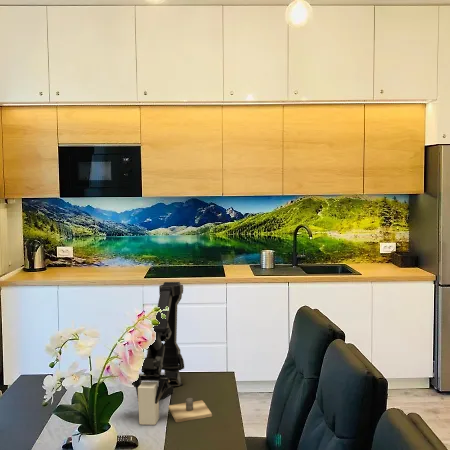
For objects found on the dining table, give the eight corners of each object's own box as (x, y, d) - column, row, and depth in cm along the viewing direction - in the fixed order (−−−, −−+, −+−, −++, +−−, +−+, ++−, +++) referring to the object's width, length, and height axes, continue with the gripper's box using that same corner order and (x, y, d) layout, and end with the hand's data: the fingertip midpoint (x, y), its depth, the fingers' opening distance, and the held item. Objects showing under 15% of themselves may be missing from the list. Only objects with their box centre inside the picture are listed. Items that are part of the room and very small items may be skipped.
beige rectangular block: (144, 417, 179) (142, 381, 178) (159, 417, 178) (157, 382, 178) (139, 424, 174) (137, 387, 173) (155, 424, 173) (153, 388, 172)
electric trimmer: (176, 394, 199) (176, 386, 199) (146, 408, 187) (145, 399, 187) (168, 392, 202) (168, 384, 202) (138, 406, 189) (138, 397, 189)
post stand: (168, 408, 186) (168, 395, 186) (202, 402, 190) (201, 390, 189) (176, 422, 175) (175, 408, 174) (211, 416, 178) (211, 403, 178)
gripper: (122, 346, 180) (112, 392, 170) (177, 347, 177) (171, 393, 167) (130, 362, 188) (121, 406, 178) (183, 362, 185) (177, 407, 175)
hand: (147, 403), depth 174 cm, fingers closed on beige rectangular block, 5 cm apart
